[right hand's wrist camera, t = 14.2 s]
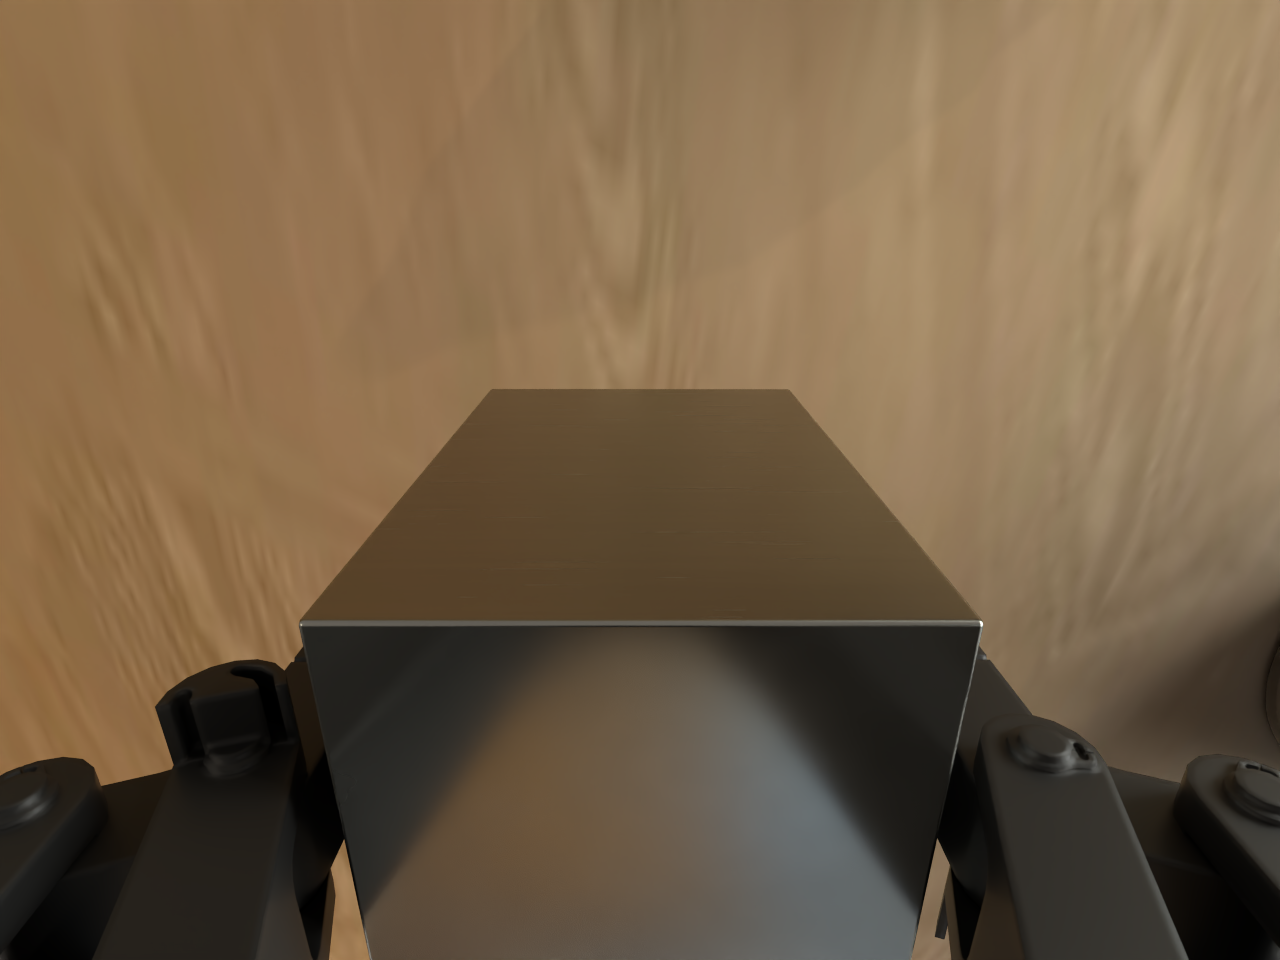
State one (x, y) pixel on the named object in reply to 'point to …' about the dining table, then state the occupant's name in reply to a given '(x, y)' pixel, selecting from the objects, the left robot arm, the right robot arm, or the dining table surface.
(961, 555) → the dining table surface
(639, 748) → the bar
